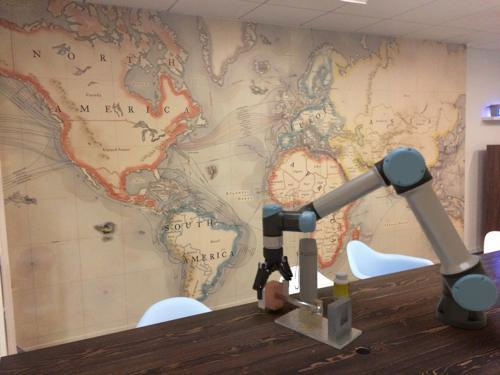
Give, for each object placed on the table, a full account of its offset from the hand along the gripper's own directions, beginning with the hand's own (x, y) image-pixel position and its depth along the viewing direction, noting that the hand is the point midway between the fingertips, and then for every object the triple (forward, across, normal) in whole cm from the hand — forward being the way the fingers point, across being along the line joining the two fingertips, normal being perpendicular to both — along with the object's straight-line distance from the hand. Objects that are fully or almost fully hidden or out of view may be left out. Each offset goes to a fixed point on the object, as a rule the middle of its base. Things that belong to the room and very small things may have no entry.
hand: (274, 302), depth 132 cm
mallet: (+2, 0, +9) cm, 10 cm away
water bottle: (+4, -16, +3) cm, 17 cm away
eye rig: (+4, 0, +19) cm, 19 cm away
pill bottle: (+4, -26, +13) cm, 29 cm away
